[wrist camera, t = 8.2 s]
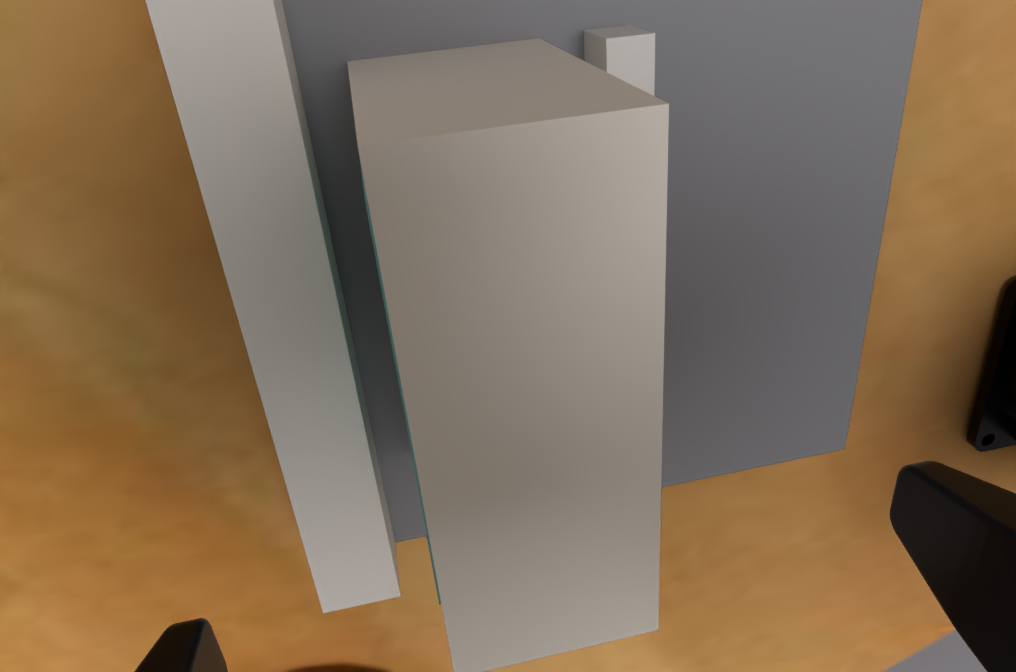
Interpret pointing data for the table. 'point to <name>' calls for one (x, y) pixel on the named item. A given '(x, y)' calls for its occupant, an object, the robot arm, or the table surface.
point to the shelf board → (689, 233)
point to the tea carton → (524, 334)
